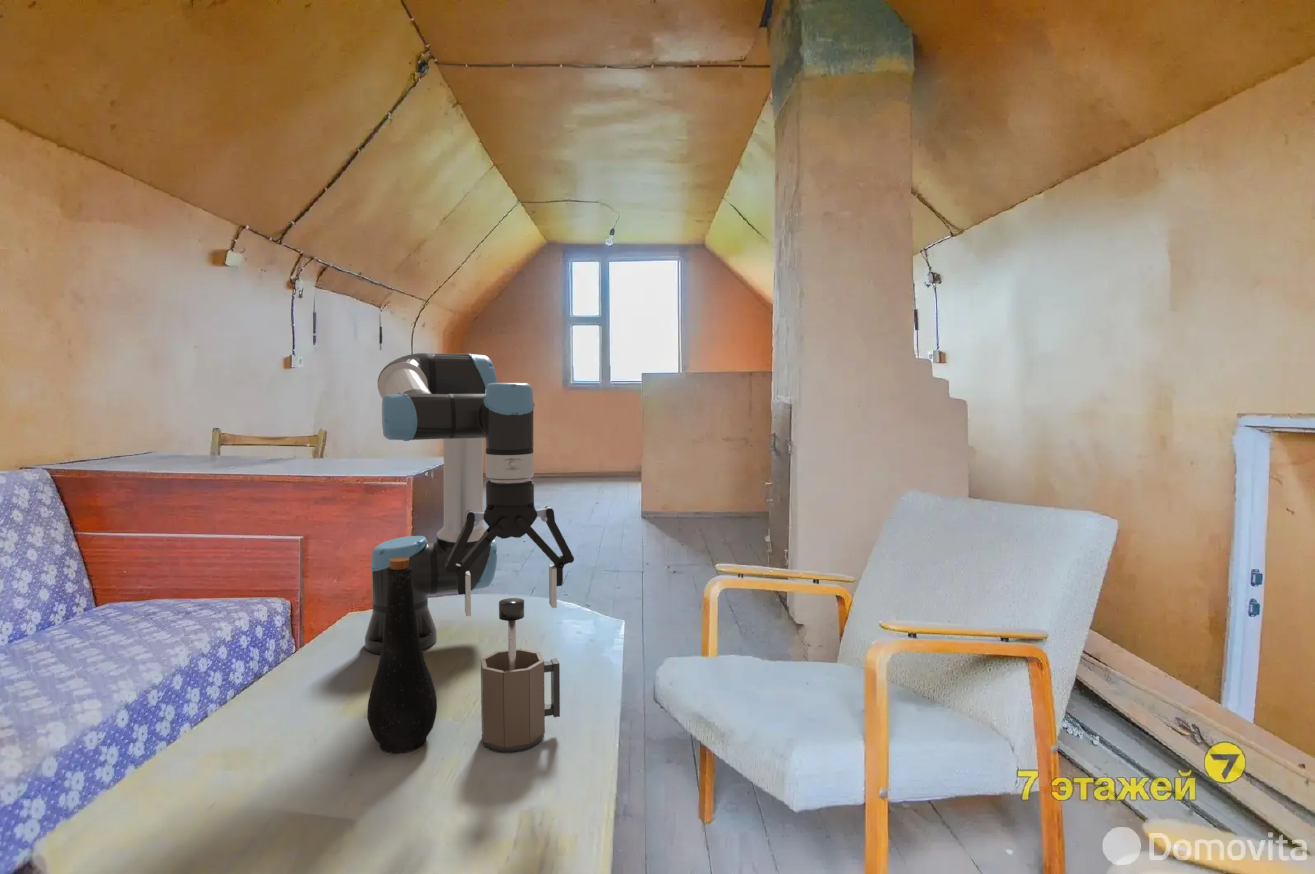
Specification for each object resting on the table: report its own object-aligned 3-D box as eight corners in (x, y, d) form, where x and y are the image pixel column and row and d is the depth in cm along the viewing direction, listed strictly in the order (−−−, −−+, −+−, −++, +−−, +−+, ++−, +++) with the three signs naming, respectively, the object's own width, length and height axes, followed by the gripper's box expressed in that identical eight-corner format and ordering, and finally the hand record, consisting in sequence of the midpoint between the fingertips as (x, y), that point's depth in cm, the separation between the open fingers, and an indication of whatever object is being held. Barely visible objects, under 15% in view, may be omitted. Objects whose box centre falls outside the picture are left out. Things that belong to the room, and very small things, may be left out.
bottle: (416, 762, 111) (412, 569, 109) (354, 755, 113) (348, 565, 111) (449, 730, 121) (446, 553, 119) (392, 724, 123) (388, 550, 121)
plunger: (489, 720, 120) (487, 597, 119) (530, 715, 123) (529, 593, 121) (494, 739, 114) (492, 609, 113) (537, 733, 116) (536, 605, 115)
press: (479, 728, 122) (478, 652, 121) (553, 717, 126) (552, 644, 125) (484, 757, 112) (483, 675, 111) (564, 744, 116) (564, 665, 115)
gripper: (428, 486, 108) (431, 624, 110) (591, 479, 116) (591, 609, 118) (427, 479, 115) (430, 609, 117) (581, 473, 123) (581, 595, 125)
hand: (511, 609), depth 117 cm, fingers open, 13 cm apart
